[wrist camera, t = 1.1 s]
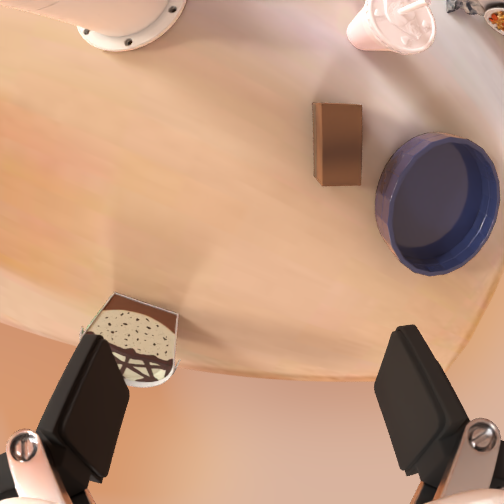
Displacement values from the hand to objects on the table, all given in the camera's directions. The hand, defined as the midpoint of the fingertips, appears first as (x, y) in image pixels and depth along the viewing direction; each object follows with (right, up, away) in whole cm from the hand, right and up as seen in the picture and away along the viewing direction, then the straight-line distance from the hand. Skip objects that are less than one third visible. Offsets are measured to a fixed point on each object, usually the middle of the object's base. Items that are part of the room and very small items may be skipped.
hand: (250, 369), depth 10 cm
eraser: (+8, +16, +21) cm, 28 cm away
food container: (-15, -5, +32) cm, 36 cm away
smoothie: (+12, +26, +16) cm, 33 cm away
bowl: (+23, +10, +25) cm, 35 cm away
